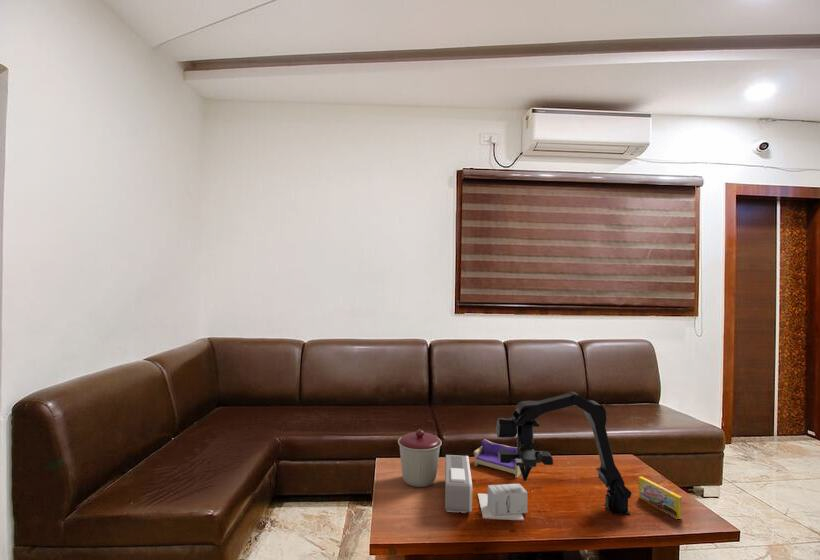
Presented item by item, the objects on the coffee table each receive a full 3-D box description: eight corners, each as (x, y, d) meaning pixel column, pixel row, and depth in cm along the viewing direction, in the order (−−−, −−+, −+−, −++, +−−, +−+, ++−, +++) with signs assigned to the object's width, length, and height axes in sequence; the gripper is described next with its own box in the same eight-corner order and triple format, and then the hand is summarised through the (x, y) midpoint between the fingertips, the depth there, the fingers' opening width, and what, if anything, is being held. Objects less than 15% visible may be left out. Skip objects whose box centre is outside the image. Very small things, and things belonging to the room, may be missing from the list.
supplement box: (528, 513, 143) (494, 516, 141) (519, 502, 150) (486, 505, 148) (528, 492, 143) (494, 494, 141) (519, 482, 151) (486, 484, 149)
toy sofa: (472, 466, 182) (473, 443, 183) (480, 459, 190) (481, 437, 190) (518, 479, 171) (518, 455, 171) (524, 471, 178) (525, 448, 178)
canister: (439, 494, 157) (440, 439, 157) (393, 489, 159) (394, 436, 160) (442, 473, 174) (443, 424, 175) (401, 469, 177) (402, 421, 178)
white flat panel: (514, 496, 156) (514, 495, 156) (523, 520, 140) (523, 518, 140) (477, 494, 157) (477, 493, 157) (482, 518, 141) (483, 516, 141)
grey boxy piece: (471, 518, 141) (472, 483, 141) (445, 516, 142) (445, 482, 142) (467, 480, 168) (468, 452, 168) (445, 479, 169) (445, 450, 169)
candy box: (637, 498, 157) (638, 476, 157) (642, 497, 158) (642, 475, 158) (678, 521, 142) (678, 497, 142) (682, 519, 142) (682, 496, 142)
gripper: (503, 445, 141) (502, 490, 140) (558, 447, 140) (557, 492, 139) (498, 433, 152) (497, 475, 152) (548, 435, 151) (548, 477, 151)
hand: (524, 480), depth 148 cm, fingers closed
